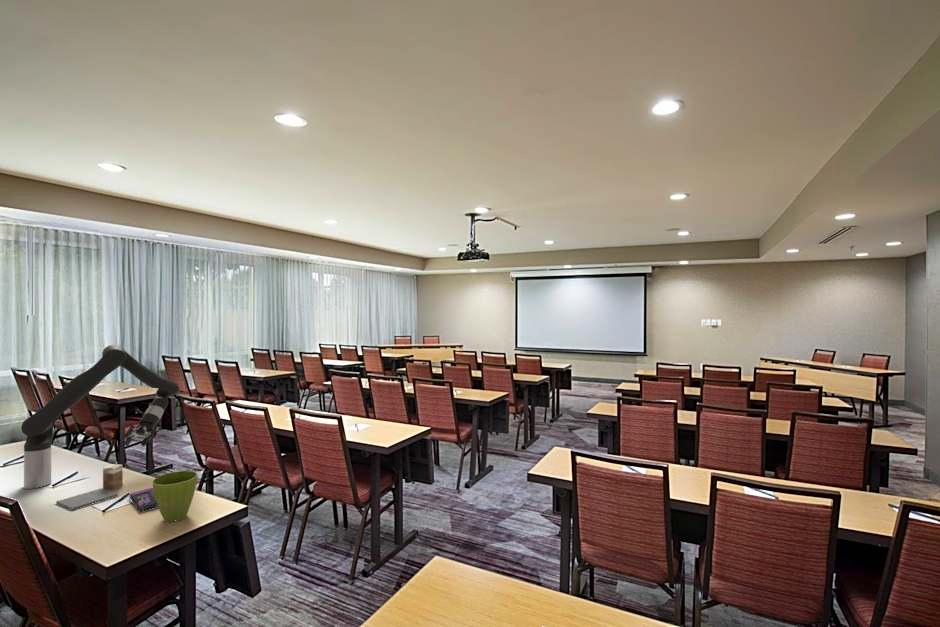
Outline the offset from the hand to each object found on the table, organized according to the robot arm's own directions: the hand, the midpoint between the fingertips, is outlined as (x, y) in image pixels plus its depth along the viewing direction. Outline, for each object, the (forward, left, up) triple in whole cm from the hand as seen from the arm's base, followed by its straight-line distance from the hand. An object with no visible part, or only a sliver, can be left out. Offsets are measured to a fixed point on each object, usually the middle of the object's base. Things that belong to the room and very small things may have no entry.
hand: (134, 445), depth 219 cm
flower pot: (+62, -15, -16) cm, 66 cm away
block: (+5, -11, -16) cm, 20 cm away
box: (+37, -10, -17) cm, 42 cm away
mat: (+11, -23, -16) cm, 30 cm away
